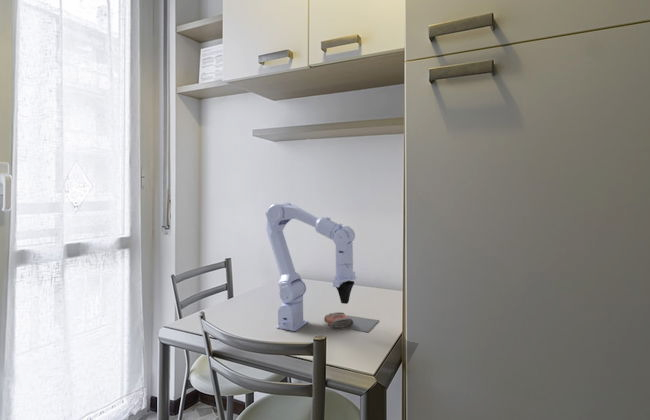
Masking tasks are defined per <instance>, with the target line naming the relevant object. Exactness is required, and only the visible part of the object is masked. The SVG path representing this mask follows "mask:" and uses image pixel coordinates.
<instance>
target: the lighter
mask: <svg viewBox="0 0 650 420" xmlns="http://www.w3.org/2000/svg"><path fill="white" fill-rule="evenodd" d="M346 315H347V314H345V313H344V312H341V311H340V312H331V313H330V312H329V314H325V316H324V318H323V319H324V320H323V321H324V322H325V323H326V324H328V325H329V326H330V327H331V328H332V330H337V331H338V330H344V329H345V328H348V327H351V326H352V325H353V320H352V319H350V318H348V317H347V316H346ZM345 330H346V329H345Z"/></svg>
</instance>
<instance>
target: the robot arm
mask: <svg viewBox="0 0 650 420" xmlns="http://www.w3.org/2000/svg"><path fill="white" fill-rule="evenodd" d="M265 215H266V217H265V218H266V232H267V236H268V239H269V242H270V246H271V250H272V252H273V256H274V259H275V262H276V265H277V268H278V269H277V270H278V272H279V275H280V278H279V280H278V287H279V291H278V295H279V298H280V300H281V301H282V303H281V304H282V305H280V306H279V308H278V310H277V321H278V322H277V325H276V327H275V328H276V329H281V330H285V331H286V330H287V331H291V332H297V331H298V330H300V329H301V328H302V327H304V326H305V325H306V324H308V323H309V321H308V320H304V294H306V292H307V286H306V283H305V282H304V281H303V279H302V278H301V277H302V276H301V275H300V274H299V273H297V271H296V270H295V266H294V263H293V260H292V257H291V254H290V250H289V247H288V243H287V241H286V238H285V237H286V236H285V235H284V234H285V233H284V231H283V230H284V229H285V228H286V225H287V224H288V223H289V222H291V220H293V219H294V220H297V221H300V222H302V223H304V224H306V225H309V226H312V227H313V228H315V231H316V233H318V234H320V235H322V236H324V237H325V238H327V239H330V240H332V241H333V243H334V244H335V277H334V280H332V287H333V288H335V289H336V290H337V292H338V296H339V300H340V303H341V304H343V305H344V304H345V305H348V304H349V301H350V296H351V292H352V289H353V288H354V285H355V281H354V280H357V276H356V272H355V271H354V252H353V251H354V250H353V244H354V243H353V242H354V240H355V238H356V233H355V231H354V229H352V228H351V227H350V226H348V225H346V226H343V224H342V223H337V222H335V221H333V220H331V219H332V218H331V217H328V216H325V217H324V216H323V217H321V218H319V217H317V216H315V215H313V214H312V213H309V211H308V212H307V210H305V209H302V208H301V207H299V206H297V205H295V204H292V203H291V202H285V203H273V204H271V205H270V206H269V207H268V208H267V211H266V212H265Z"/></svg>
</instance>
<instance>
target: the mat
mask: <svg viewBox="0 0 650 420" xmlns="http://www.w3.org/2000/svg"><path fill="white" fill-rule="evenodd" d="M345 315H346V316H347V317H348V318H350V319H352V320H353V325H352V326H351V327H348V328H345V330H351V331H356V332H361V333H369V332H371V330H372V329H373V328H374V327H375V326H376V325H377V324H378V322H380V320H379V319H374V318H367V317H360V316H354V315H348V314H345Z"/></svg>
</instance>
